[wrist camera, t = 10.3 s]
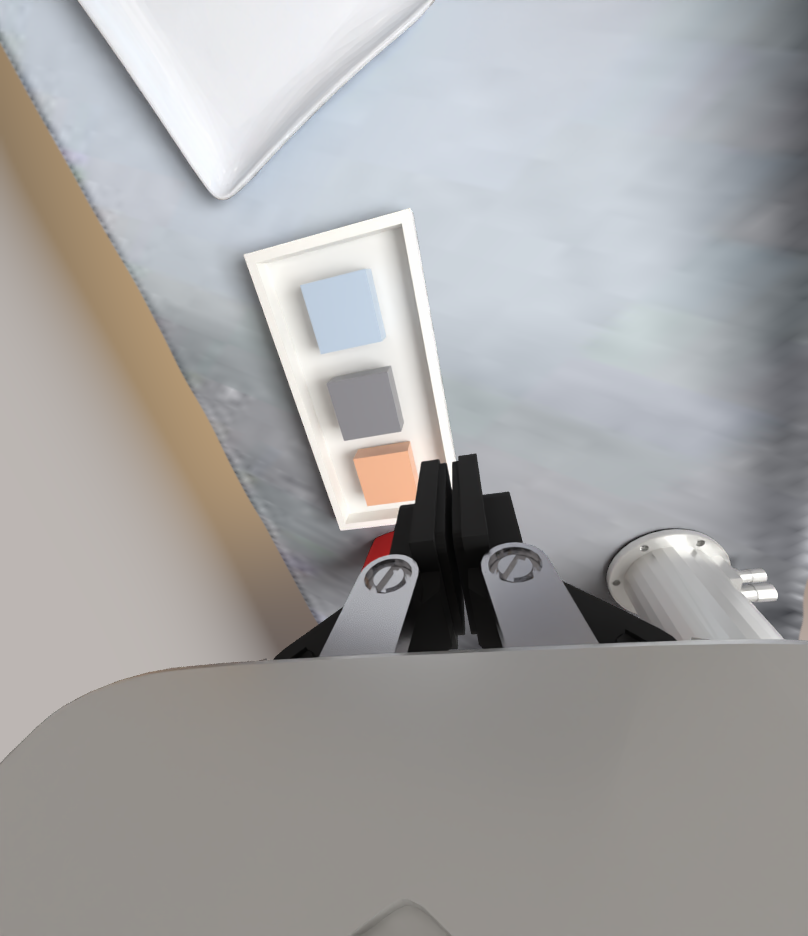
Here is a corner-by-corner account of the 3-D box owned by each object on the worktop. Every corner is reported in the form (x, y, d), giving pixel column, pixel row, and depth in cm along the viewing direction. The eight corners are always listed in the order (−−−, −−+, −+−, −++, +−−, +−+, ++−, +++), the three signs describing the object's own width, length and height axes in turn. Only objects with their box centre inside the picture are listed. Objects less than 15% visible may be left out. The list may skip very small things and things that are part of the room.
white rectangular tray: (413, 213, 31) (409, 208, 29) (463, 501, 43) (464, 516, 41) (259, 255, 34) (243, 254, 31) (346, 515, 46) (340, 530, 43)
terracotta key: (410, 441, 39) (407, 450, 37) (420, 487, 41) (419, 499, 39) (358, 449, 40) (353, 459, 38) (371, 494, 42) (367, 506, 40)
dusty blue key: (370, 268, 32) (365, 268, 30) (386, 337, 34) (382, 341, 32) (309, 284, 33) (299, 285, 31) (328, 349, 36) (321, 354, 33)
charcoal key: (391, 365, 35) (387, 371, 33) (404, 422, 37) (401, 431, 35) (333, 376, 36) (326, 383, 34) (349, 431, 38) (343, 441, 36)
